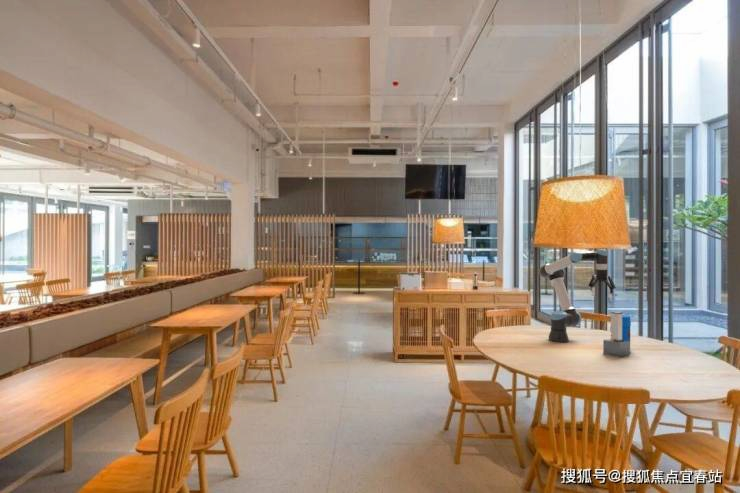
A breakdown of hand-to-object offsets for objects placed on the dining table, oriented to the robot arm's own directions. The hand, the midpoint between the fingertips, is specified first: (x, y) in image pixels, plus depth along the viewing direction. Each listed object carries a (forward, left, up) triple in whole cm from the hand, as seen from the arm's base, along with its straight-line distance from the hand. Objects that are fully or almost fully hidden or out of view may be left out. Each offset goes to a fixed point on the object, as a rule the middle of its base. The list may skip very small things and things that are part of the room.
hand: (601, 296), depth 319 cm
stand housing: (+18, -11, -39) cm, 44 cm away
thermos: (+11, +8, -39) cm, 41 cm away
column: (+18, -11, -31) cm, 37 cm away
